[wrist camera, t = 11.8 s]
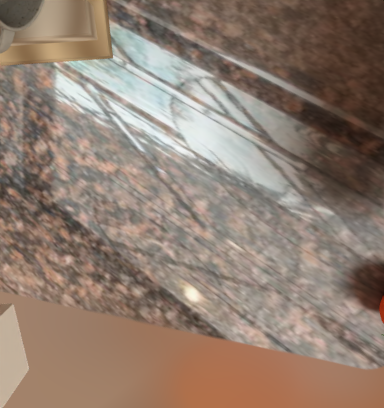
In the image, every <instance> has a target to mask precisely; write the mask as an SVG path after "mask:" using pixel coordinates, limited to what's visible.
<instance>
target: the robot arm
mask: <svg viewBox="0 0 384 408" xmlns="http://www.w3.org/2000/svg"><path fill="white" fill-rule="evenodd" d="M28 370H29V367H28V362H27V359H26V354H25V350H24V346H23V342H22V338H21V334H20V329H19V325H18V321H17V317H16V313H15V309H14V304H0V408H3V406H4V405H5V404H6V402H7V400H8V399H9V398H10V396H11V395H12V393H13V392H14V391H15V389H16V388H17V386H18V385H19V383H20V382H21V380H22V379H23V377H24V376H25V374H26V373H27V372H28Z"/></svg>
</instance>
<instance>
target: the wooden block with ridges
mask: <svg viewBox="0 0 384 408" xmlns="http://www.w3.org/2000/svg"><path fill="white" fill-rule="evenodd" d="M0 34H1V28H0ZM107 58H113V54H112V45H111V36H110V27H109V19H108V10H107V1H106V0H45V1H44V4H43V6H42V9H41V11H40V13H39V15H38V17H37V18H36V20H35V21H34V22H33V23H32V24H31V25H30V26H29V27H27V28H26V29H24V30H21V31H15V35H14V38H13V41H12V44H11V46H10V47H9V49H8V50H6V51H5V52H3V53H1V54H0V66H4V65H19V64H33V63H48V62H63V61H78V60H93V59H107Z"/></svg>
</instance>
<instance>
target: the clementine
mask: <svg viewBox="0 0 384 408" xmlns="http://www.w3.org/2000/svg"><path fill="white" fill-rule="evenodd" d="M379 311H380V316H381V320H382V322H383V323H384V296H383V297H382V300H381V302H380V307H379ZM382 335H383V334H382Z"/></svg>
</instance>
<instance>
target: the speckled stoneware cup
mask: <svg viewBox="0 0 384 408" xmlns="http://www.w3.org/2000/svg"><path fill="white" fill-rule="evenodd" d="M44 1H45V0H0V28H1V34H0V54H1V53H3V52H5V51H6V50H8V49H9V47H10V46H11V44H12V41H13V38H14V35H15V31H21V30H24V29H26V28H27V27H29V26H30V25H31V24H32V23H33V22H34V21H35V20H36V18H37V17H38V15H39V13H40V11H41V9H42V6H43V4H44Z"/></svg>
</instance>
